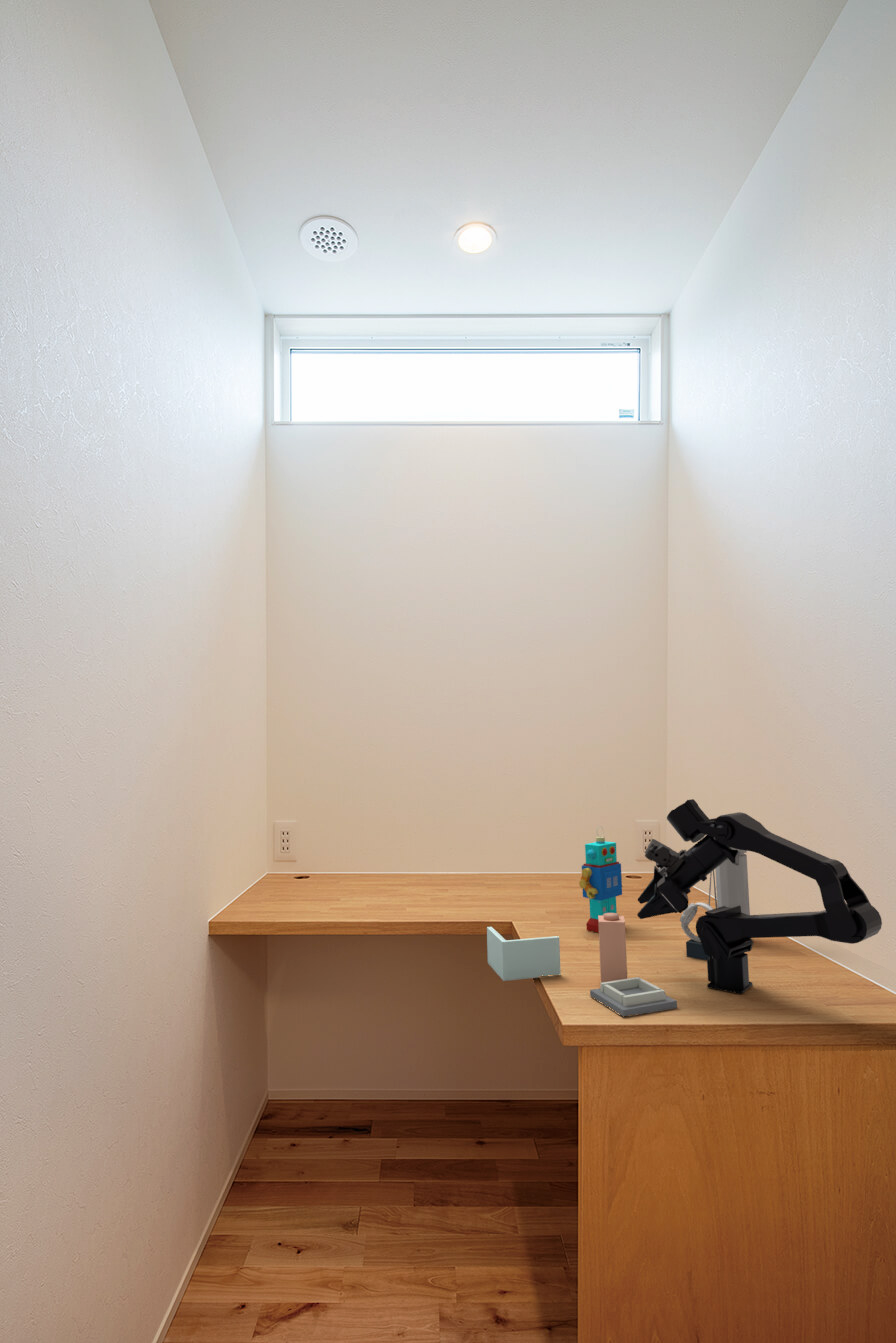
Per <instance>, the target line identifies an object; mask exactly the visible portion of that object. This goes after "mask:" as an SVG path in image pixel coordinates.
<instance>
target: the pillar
mask: <svg viewBox="0 0 896 1343" xmlns="http://www.w3.org/2000/svg"><path fill="white" fill-rule="evenodd" d="M598 922H599V933H598V937H599V938H598V939H599V940H598V941H599V942H598V944H599V945H598V946H599V948H598V949H599V968H600V983H603V982H609V981H616V980H622V979H628V966H627V965H628V964H627V963H628V960H627V938H626V936H627V935H626V920H625V916H624V915H619V913H605V914H603V916H599V915H598Z"/></svg>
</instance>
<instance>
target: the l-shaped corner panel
mask: <svg viewBox="0 0 896 1343" xmlns="http://www.w3.org/2000/svg"><path fill="white" fill-rule="evenodd" d="M560 942H561V940H560V937H559V936H558V935H557V936H556V935H555V936H543V937H530V938H521V939H520V938H519V939H510V940H509V939H508V940H507V939H505V938H504V937H503V936H502V935H501V934H500V933H499V932H498V931H497V930H496V929H494V928H493V926H487V927H486V945H487V946H486V949H487V951H486V952H487V964H488V965H489V966H490V967H491V969H492V970H493V971H494V972H495V973H496V974H497V976H499V978H500V979H501V980H502V982H505V981H506V982H507V981H516V980H517V981H518V980H525V979H535V978H536V979H538V978H540V977H539V976H542V975H543V976H548V975H559V974H561V950H560V949H561V947H560V946H561V945H560ZM559 976H560V975H559Z"/></svg>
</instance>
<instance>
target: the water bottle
mask: <svg viewBox="0 0 896 1343" xmlns="http://www.w3.org/2000/svg"><path fill="white" fill-rule="evenodd" d="M732 849H733V850H738V851H740V855H739V865H738V866H736V865H735V864H733V863H732V862H731V861H730V860H729V859H727V860H726V861H724V862H723V863H722V864H721V865H719V866H718V867H717V868H716V869H714V870H713V871H712V872H710V873H709V874H710V875H709V876H710V877H709V888H708V890H709V892H708V902H707V904H708V905H709V906H711V894H712V893H711V891H712V881H713V892H714V905H715V907H714V908H715V909H716V908H719V907H722V906H726V907H730V908H732V907H736V906H741V913H744V914H747V915H751V909H750V894H749V891H750V890H749V876H748V859H747V854H746V853H747V852H748V851H746V850H739V849H735V848H732ZM712 876H713V880H712Z"/></svg>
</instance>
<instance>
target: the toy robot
mask: <svg viewBox="0 0 896 1343" xmlns="http://www.w3.org/2000/svg"><path fill="white" fill-rule="evenodd" d="M599 828H601V829H602V830H604V828H603V827H602V826H601V825H599V826H598V827H597V829H596V831H598V829H599ZM598 834H599V833H596V837H595V841H593V842H589V843H585V844H584V851H585V855H584V856H585V863H583V864H582V865H581V877H580V880H579V882H578V883H579V884H578V885H579V887H580V888H581V889H582V897H583V898H586V899H588V900H589V919H588V920H587V922H586V923H585V925H586V931H587V930H588V931H587V932H591V931H594V932H593V933H595V932H598V933H597V934H599V922H598V915H599V916H603V914H605V913H617V911H618V910H617V897H618V896H619V897H620V896H622V895H623V887H624V886H623V882H622V881H623V880H622V863H620V861H618V860H617V842H614V841H606V839H605V836H603V835H604V833H602V834H601V835H598ZM617 914H618V913H617Z"/></svg>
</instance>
